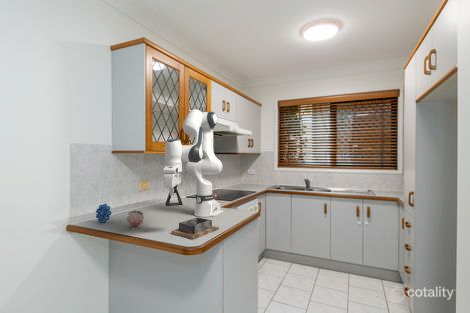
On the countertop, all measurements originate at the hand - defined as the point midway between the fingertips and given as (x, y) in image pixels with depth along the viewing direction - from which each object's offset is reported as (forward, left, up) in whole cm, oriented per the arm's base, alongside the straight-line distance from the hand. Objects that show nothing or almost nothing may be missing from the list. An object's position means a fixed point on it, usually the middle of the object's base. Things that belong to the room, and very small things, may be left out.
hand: (173, 194), depth 132 cm
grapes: (+12, -51, -21) cm, 56 cm away
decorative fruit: (+6, -27, -21) cm, 34 cm away
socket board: (-7, +9, -21) cm, 24 cm away
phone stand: (0, 0, -6) cm, 6 cm away
